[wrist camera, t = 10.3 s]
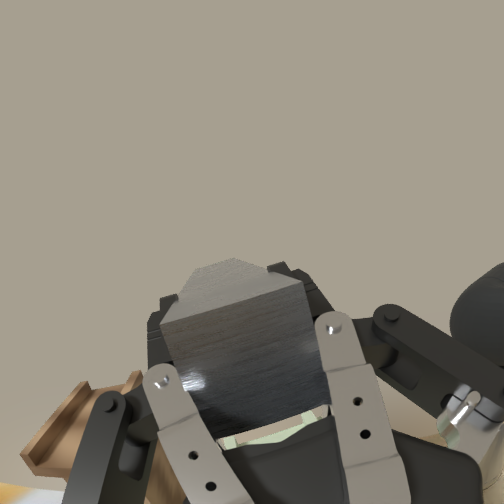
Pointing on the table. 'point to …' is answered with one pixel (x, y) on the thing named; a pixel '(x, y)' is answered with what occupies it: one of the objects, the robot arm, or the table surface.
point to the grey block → (244, 346)
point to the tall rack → (69, 436)
